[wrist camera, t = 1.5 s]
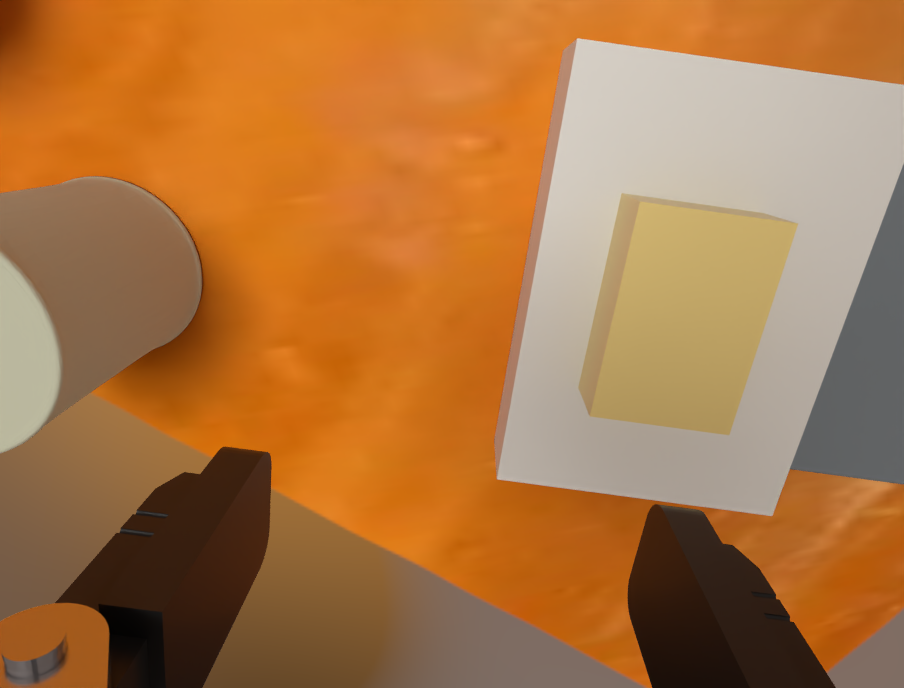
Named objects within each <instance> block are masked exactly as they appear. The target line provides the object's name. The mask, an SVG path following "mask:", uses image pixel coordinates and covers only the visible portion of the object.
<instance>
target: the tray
mask: <svg viewBox="0 0 904 688" xmlns="http://www.w3.org/2000/svg"><path fill="white" fill-rule="evenodd" d="M790 469H794V470H801V471H809V472H816V473H823V474H831V475H838V476H846V477H853V478H861V479H868V480H875V481H883V482H890V483H898V484H904V164H903V167H902V169H901V172H900V175H899V177H898V180H897V183H896V185H895V188H894V191H893V193H892V196H891V199H890V202H889V204H888V207H887V210H886V212H885V215H884V218H883V220H882V223H881V226H880V228H879V231H878V234H877V236H876V239H875V242H874V244H873V247H872V250H871V252H870V255H869V258H868V260H867V263H866V266H865V269H864V271H863V274H862V277H861V279H860V282H859V285H858V287H857V290H856V293H855V295H854V298H853V301H852V303H851V306H850V309H849V311H848V314H847V317H846V319H845V322H844V325H843V328H842V330H841V333H840V336H839V338H838V341H837V344H836V346H835V349H834V352H833V354H832V357H831V360H830V362H829V365H828V368H827V370H826V373H825V376H824V378H823V381H822V384H821V386H820V389H819V392H818V395H817V397H816V400H815V403H814V405H813V408H812V411H811V413H810V416H809V419H808V421H807V424H806V427H805V429H804V432H803V435H802V437H801V440H800V443H799V445H798V448H797V451H796V454H795V456H794V459H793V462H792V464H791V467H790Z"/></svg>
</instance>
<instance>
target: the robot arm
mask: <svg viewBox="0 0 904 688" xmlns="http://www.w3.org/2000/svg"><path fill="white" fill-rule="evenodd" d="M270 493H271V456H270V454H269V453H268V452H262V451H254V450H247V449H239V448H232V447H222V448H221V449H220V450H219V451H218V452H217V454H216V455H215V456H214V457H213V459H212V460H211V461H210V462H209V464H208V465H207V467H206V468H205V469H204V470H203V471H202V473H201V474H194V473H186V472H184V473H182V474H180V475H179V476H177V477H175V478H173V479H172V480H170V481H168V482H166V483H165V484H163V485H161V486H159V487H158V488H156V489H155V490H154V491H153V492H152V493H151V495H150V496H149V497H148V498H147V499H146V500H145V501H144V502H143V504H142V505H141V506H140V507H139V508H138V509H137V513H136V515H134V514H133V515H132V516H131V517H130V518H129V520H128V521H127V522H126V523H125V524H124V525H123V526H122V527H121V531H120V533H116V534H115V536H114V537H113V538H112V539H111V540H110V541H109V542H108V543H107V545H106V546H105V547H104V548H103V549H102V550H101V551H100V552H99V554H98V555H97V556H96V557H95V558H94V559H93V561H92V562H91V563H90V564H89V565H88V566H87V567H86V568H85V570H84V571H83V572H82V573H81V574H80V575H79V576H78V578H77V579H76V580H75V581H74V582H73V583H72V584H71V585H70V587H69V588H68V589H67V590H66V591H65V592H64V593H63V595H62V596H61V597H60V598H59V599H58V600H57V601H56V603H55V604H48V605H42V606H38V607H34V608H30V609H27V610H25V611H22V612H19V613H17V614H14V615H12V616H10V617H8V618H6V619H4V620H2V621H1V622H0V688H202V687H203V685H204V683H205V681H206V679H207V677H208V675H209V673H210V671H211V669H212V667H213V665H214V663H215V660H216V658H217V656H218V654H219V652H220V650H221V648H222V646H223V644H224V642H225V640H226V638H227V636H228V634H229V632H230V630H231V627H232V625H233V623H234V621H235V619H236V617H237V615H238V613H239V611H240V609H241V607H242V605H243V603H244V601H245V599H246V596H247V594H248V592H249V590H250V588H251V586H252V584H253V582H254V580H255V578H256V576H257V574H258V572H259V570H260V567H261V565H262V562H263V559H264V556H265V552H266V548H267V543H268V537H269V527H270V526H269V525H270V495H271V494H270ZM628 609H629V615H630V619H631V622H632V625H633V628H634V631H635V634H636V638H637V641H638V644H639V647H640V650H641V653H642V657H643V660H644V663H645V666H646V669H647V672H648V676H649V679H650V682H651V685H652V688H835V686H834V684H833V683H832V681H831V680H830V678H829V676H828V675H827V673H826V672H825V670H824V669H823V667H822V665H821V664H820V662H819V661H818V659H817V658H816V656H815V655H814V653H813V651H812V650H811V648H810V647H809V645H808V644H807V642H806V641H805V639H804V637H803V636H802V634H801V633H800V631H799V630H798V628H797V627H796V625H795V623H794V622H790V616H789V614H788V613H787V611H786V609H785V608H784V606H783V605H782V603H781V602H780V600H777V599H776V594H775V592H774V591H773V589H772V588H771V586H770V585H769V583H768V581H767V580H766V578H765V577H764V575H763V574H762V572H761V571H760V569H759V568H758V567H757V566H756V565H755V564H753V563H752V562H751V561H750V560H749V559H748V558H747V557H746V556H744V555H743V554H742V553H741V552H740V551H739V550H738V549H736V548H735V547H734V546H733V545H728V544H722V542H721V541H720V539H719V537H718V535H717V534H716V532H715V530H714V529H713V527H712V525H711V524H710V522H709V520H708V519H707V517H706V515H705V514H704V513H703V512H702V511H700V510H696V509H688V508H680V507H673V506H665V505H658V504H655V505H653V506H652V507H651V509H650V511H649V513H648V515H647V519H646V522H645V526H644V529H643V533H642V536H641V540H640V543H639V547H638V550H637V554H636V557H635V561H634V564H633V567H632V571H631V574H630V579H629V584H628Z"/></svg>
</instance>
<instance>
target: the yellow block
mask: <svg viewBox="0 0 904 688" xmlns="http://www.w3.org/2000/svg"><path fill="white" fill-rule="evenodd" d="M797 226H798V223H795V222H791V221H788V220H785V219H781V218H778V217H775V216H771V215H768V214H765V213H760V212H753V211H746V210H739V209H732V208H725V207H717V206H710V205H703V204H696V203H689V202H682V201H674V200H667V199H660V198H653V197H646V196H639V195H632V194H624V193H621V198H620V202H619V207H618V211H617V216H616V220H615V225H614V229H613V234H612V238H611V243H610V247H609V252H608V256H607V261H606V265H605V270H604V274H603V279H602V283H601V288H600V292H599V297H598V301H597V306H596V310H595V315H594V319H593V324H592V328H591V332H590V337H589V341H588V346H587V350H586V355H585V359H584V364H583V368H582V373H581V377H580V382H579V386H578V388H579V391H580V393H581V396H582V398H583V401H584V403H585V406H586V409H587V411H588V414H589V416H590V417H598V418H605V419H612V420H620V421H627V422H635V423H642V424H649V425H657V426H664V427H671V428H679V429H686V430H694V431H701V432H708V433H716V434H723V435H730V432H731V428H732V425H733V422H734V419H735V416H736V413H737V410H738V407H739V404H740V401H741V398H742V395H743V392H744V389H745V386H746V382H747V379H748V376H749V373H750V370H751V367H752V364H753V361H754V358H755V355H756V352H757V349H758V346H759V343H760V340H761V336H762V333H763V330H764V327H765V324H766V321H767V318H768V315H769V312H770V309H771V306H772V303H773V300H774V297H775V294H776V291H777V287H778V284H779V281H780V278H781V275H782V272H783V269H784V266H785V263H786V260H787V257H788V254H789V251H790V248H791V245H792V241H793V238H794V235H795V232H796V229H797Z"/></svg>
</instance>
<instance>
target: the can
mask: <svg viewBox="0 0 904 688" xmlns="http://www.w3.org/2000/svg"><path fill="white" fill-rule="evenodd" d="M201 291H202V270H201V264H200V260H199V255H198V253H197V250H196V247H195V244H194V242H193V240H192V238H191V236H190V234H189V233H188V231H187V229H186V228H185V226H184V225H183V224H182V222H181V221H180V219H179V218H178V217H177V216H176V215H175V214H174V212H173V211H172V210H171V209H170V208H169V207H167V206H166V205H165V204H164V203H163V202H162V201H161V200H159V199H158V198H157V197H155V196H154V195H152V194H151V193H149V192H147V191H146V190H144V189H142V188H140V187H138V186H136V185H133V184H131V183H128V182H125V181H122V180H119V179H115V178H109V177H99V176H91V177H81V178H76V179H72V180H69V181H66V182H64V183H61V184H57V185H52V186H46V187H39V188H32V189H26V190H19V191H12V192H5V193H0V453H2V452H5V451H8V450H11V449H13V448H15V447H17V446H19V445H21V444H22V443H24V442H26V441H27V440H29V439H30V438H31V437H33V436H34V435H35V434H37V433H38V432H39V431H40V429H42V428H43V426H45V425H46V424H48V423H49V422H50V421H51V420H53V419H54V418H55V417H57V416H58V415H60V414H61V413H62V412H64V411H65V410H67V409H68V408H69V407H70V406H72V405H74V404H75V403H76V402H78V401H79V400H81V399H82V398H83V397H85V396H86V395H88V394H89V393H90V392H92V391H93V390H95V389H96V388H97V387H99V386H100V385H102V384H103V383H105V382H106V381H107V380H109V379H110V378H112V377H113V376H115V375H116V374H118V373H119V372H120V371H122V370H123V369H125V368H126V367H128V366H129V365H131V364H132V363H133V362H135V361H136V360H138V359H139V358H141V357H142V356H144V355H145V354H147V353H148V352H150V351H151V350H153V349H155V348H158V347H160V346H163V345H165V344H166V343H168V342H170V341H172V340H173V339H174V338H176V337H177V336H178V335H179V334H180V333H182V332H183V330H184V329H185V328H186V327H187V326H188V324H189V323H190V322H191V320H192V318H193V317H194V315H195V313H196V310H197V308H198V305H199V302H200V298H201Z"/></svg>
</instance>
